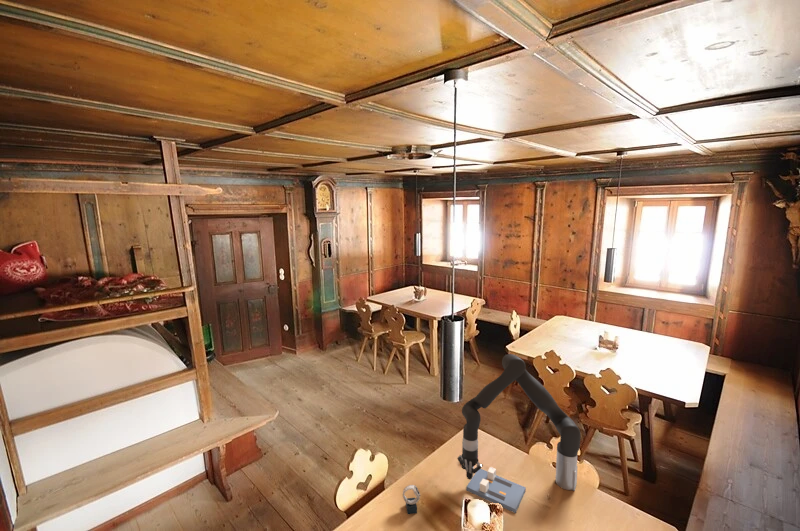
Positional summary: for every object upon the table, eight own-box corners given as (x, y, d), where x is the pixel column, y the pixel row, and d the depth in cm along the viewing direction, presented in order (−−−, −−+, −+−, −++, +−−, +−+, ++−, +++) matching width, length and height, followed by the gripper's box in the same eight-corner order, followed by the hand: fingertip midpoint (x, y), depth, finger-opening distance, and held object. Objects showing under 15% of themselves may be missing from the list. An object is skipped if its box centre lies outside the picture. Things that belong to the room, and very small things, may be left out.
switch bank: (525, 491, 169) (525, 487, 169) (515, 513, 156) (515, 509, 156) (479, 471, 183) (479, 467, 182) (466, 490, 170) (466, 486, 169)
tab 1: (488, 488, 168) (488, 480, 168) (485, 493, 165) (485, 485, 164) (482, 485, 170) (483, 478, 169) (479, 490, 167) (479, 483, 166)
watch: (421, 512, 157) (421, 490, 156) (403, 514, 156) (403, 492, 154) (419, 503, 162) (418, 481, 161) (402, 504, 161) (401, 483, 160)
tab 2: (495, 475, 176) (496, 469, 176) (493, 480, 173) (493, 473, 173) (490, 473, 178) (490, 466, 177) (487, 478, 175) (487, 471, 174)
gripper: (486, 446, 169) (485, 479, 171) (461, 437, 176) (460, 468, 178) (480, 454, 163) (479, 488, 165) (454, 444, 170) (453, 477, 172)
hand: (469, 478), depth 171 cm, fingers closed
